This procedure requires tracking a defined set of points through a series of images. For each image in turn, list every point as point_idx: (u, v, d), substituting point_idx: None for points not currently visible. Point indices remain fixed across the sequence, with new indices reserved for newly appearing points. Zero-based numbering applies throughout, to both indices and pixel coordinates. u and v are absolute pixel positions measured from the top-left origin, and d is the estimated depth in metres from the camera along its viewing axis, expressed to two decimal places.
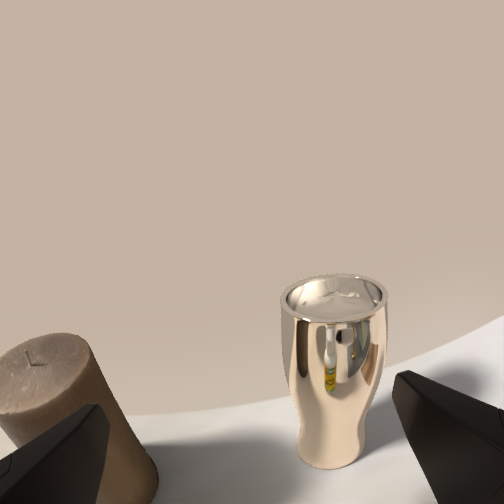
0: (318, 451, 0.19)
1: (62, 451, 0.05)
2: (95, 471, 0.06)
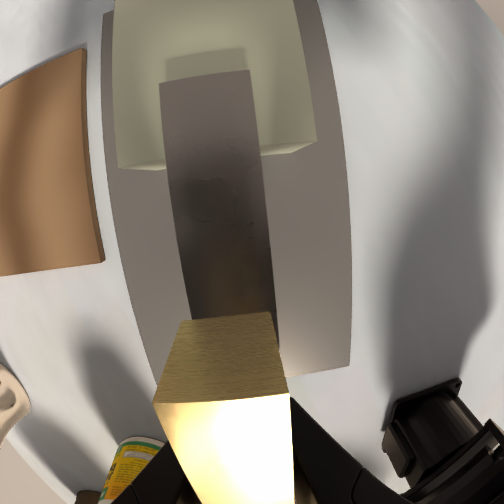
0: (16, 421, 0.15)
1: None
2: None
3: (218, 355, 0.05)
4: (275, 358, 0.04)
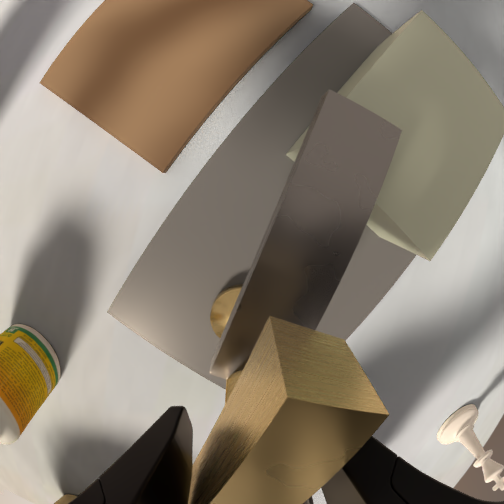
0: None
1: (159, 465, 0.05)
2: (186, 481, 0.06)
3: (323, 365, 0.05)
4: (368, 383, 0.05)
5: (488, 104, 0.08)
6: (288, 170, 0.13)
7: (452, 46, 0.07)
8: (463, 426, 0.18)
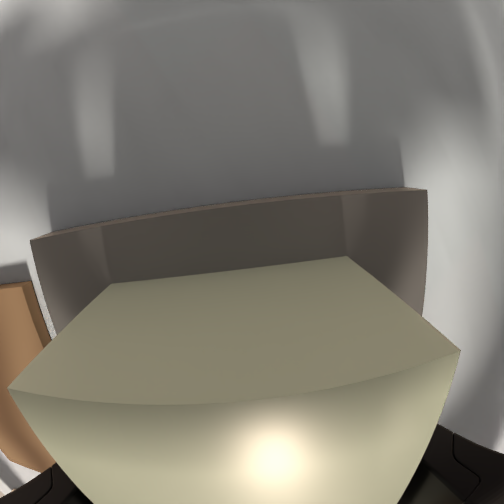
0: None
1: None
2: None
3: None
4: None
5: (349, 433, 0.03)
6: None
7: (119, 420, 0.03)
8: None
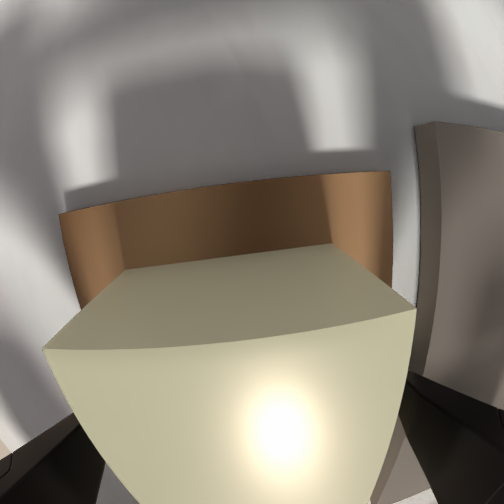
0: None
1: (62, 451, 0.05)
2: (96, 471, 0.06)
3: None
4: None
5: (327, 377, 0.04)
6: (470, 377, 0.09)
7: (141, 365, 0.04)
8: None
